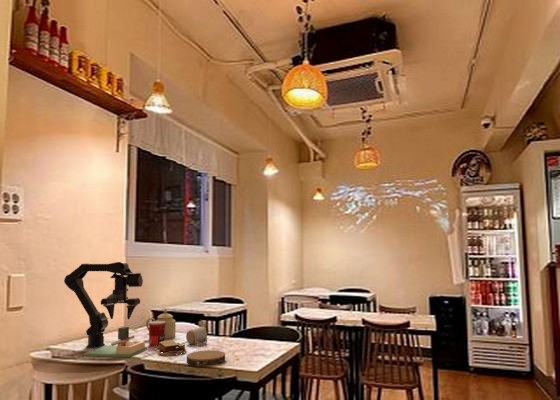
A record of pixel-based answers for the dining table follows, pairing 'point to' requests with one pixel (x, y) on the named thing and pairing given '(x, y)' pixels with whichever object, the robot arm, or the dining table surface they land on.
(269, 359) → the dining table surface
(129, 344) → the ball
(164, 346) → the toy sandwich meal
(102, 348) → the pitch
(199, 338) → the ceramic mug
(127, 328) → the kicker rod
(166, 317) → the cream teapot
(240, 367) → the dining table surface
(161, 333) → the canned food
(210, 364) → the brown round disc
